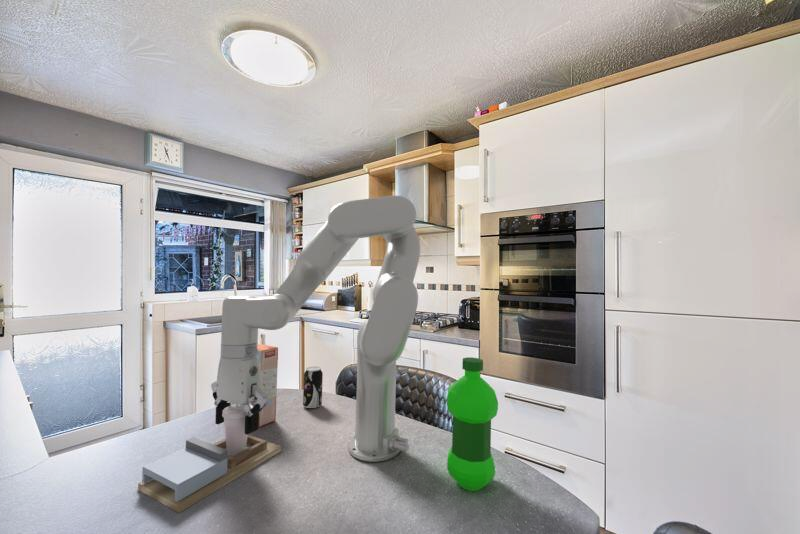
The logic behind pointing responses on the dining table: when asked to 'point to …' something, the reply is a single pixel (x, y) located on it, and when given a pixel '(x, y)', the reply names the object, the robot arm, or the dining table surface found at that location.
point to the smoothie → (235, 428)
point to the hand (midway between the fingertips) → (236, 426)
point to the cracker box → (268, 382)
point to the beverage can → (312, 387)
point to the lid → (188, 467)
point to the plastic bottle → (471, 427)
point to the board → (236, 467)
